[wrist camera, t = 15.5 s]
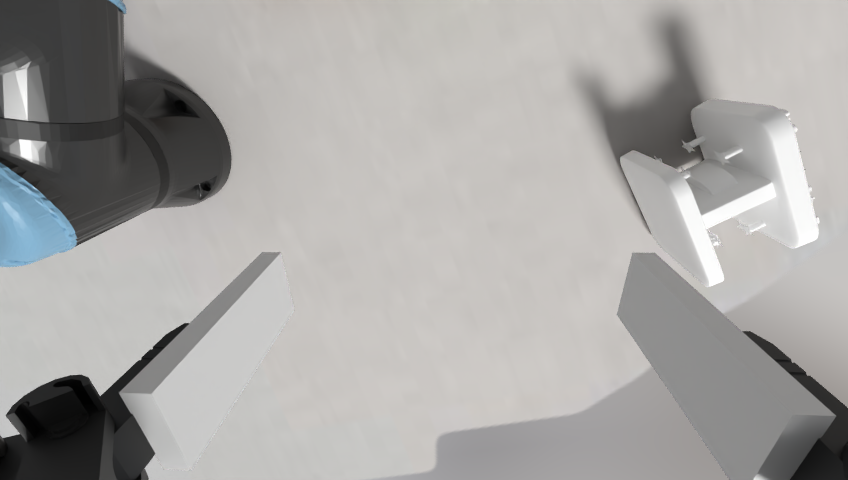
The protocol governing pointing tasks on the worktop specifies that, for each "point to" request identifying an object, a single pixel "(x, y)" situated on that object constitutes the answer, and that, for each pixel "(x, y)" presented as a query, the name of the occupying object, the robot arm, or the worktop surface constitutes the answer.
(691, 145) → the cable organizer
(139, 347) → the worktop surface
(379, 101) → the worktop surface
